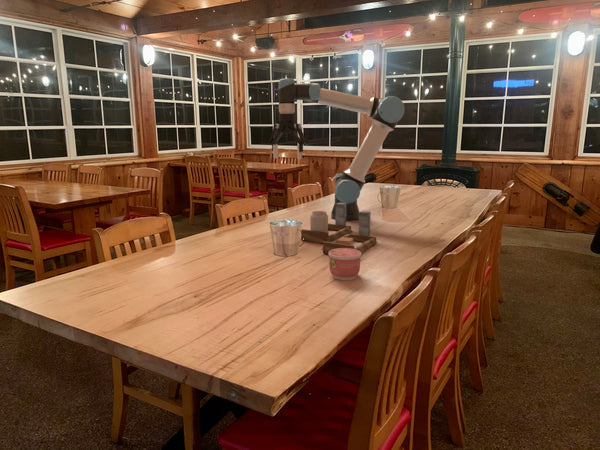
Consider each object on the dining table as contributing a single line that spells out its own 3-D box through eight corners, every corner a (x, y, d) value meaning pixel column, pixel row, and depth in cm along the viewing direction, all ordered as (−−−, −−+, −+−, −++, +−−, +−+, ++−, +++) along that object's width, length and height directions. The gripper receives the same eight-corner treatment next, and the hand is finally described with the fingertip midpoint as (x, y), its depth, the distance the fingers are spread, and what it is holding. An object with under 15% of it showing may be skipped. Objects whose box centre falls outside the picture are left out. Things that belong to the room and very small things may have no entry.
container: (327, 270, 147) (328, 247, 145) (359, 270, 146) (359, 247, 144) (328, 281, 136) (329, 257, 135) (362, 281, 136) (363, 257, 134)
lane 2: (352, 236, 189) (353, 209, 186) (379, 240, 183) (380, 212, 180) (322, 253, 166) (323, 222, 163) (352, 257, 159) (353, 226, 157)
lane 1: (330, 226, 208) (330, 201, 206) (354, 229, 202) (355, 204, 199) (301, 239, 185) (301, 212, 182) (327, 243, 179) (327, 214, 176)
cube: (340, 249, 172) (340, 237, 170) (353, 250, 170) (353, 238, 169) (337, 252, 167) (337, 240, 166) (350, 254, 165) (350, 241, 164)
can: (327, 242, 182) (327, 213, 179) (309, 241, 183) (309, 213, 180) (328, 237, 189) (328, 210, 186) (311, 237, 190) (311, 210, 187)
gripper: (260, 113, 209) (261, 158, 214) (305, 112, 197) (305, 160, 201) (269, 113, 215) (270, 157, 220) (313, 112, 203) (313, 158, 208)
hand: (287, 158), depth 211 cm, fingers open, 13 cm apart
